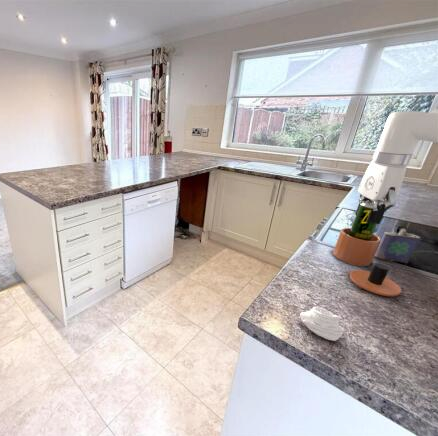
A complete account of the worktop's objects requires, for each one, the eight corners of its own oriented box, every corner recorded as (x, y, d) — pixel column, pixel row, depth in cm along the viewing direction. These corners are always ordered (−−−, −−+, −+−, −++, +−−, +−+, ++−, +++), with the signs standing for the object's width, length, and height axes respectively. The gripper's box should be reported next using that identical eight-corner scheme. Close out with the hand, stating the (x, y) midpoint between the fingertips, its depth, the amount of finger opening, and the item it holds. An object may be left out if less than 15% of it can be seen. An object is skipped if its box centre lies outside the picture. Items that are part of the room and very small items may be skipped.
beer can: (345, 233, 81) (358, 199, 76) (364, 236, 79) (379, 201, 75) (352, 241, 76) (366, 204, 71) (373, 243, 75) (389, 207, 70)
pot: (360, 252, 84) (369, 229, 81) (377, 268, 75) (389, 243, 72) (328, 248, 86) (335, 226, 83) (341, 263, 77) (350, 239, 74)
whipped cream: (295, 328, 54) (298, 312, 52) (302, 310, 58) (306, 294, 56) (340, 348, 49) (346, 330, 47) (344, 326, 53) (350, 309, 51)
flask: (376, 258, 80) (389, 229, 76) (371, 254, 83) (384, 225, 78) (410, 263, 78) (426, 233, 74) (404, 259, 80) (419, 229, 76)
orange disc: (383, 276, 71) (391, 258, 69) (410, 301, 61) (421, 281, 59) (341, 271, 73) (348, 253, 71) (361, 294, 64) (370, 274, 61)
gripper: (358, 154, 77) (339, 208, 84) (395, 164, 61) (368, 229, 68) (386, 155, 75) (364, 210, 82) (432, 166, 60) (400, 232, 67)
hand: (366, 218), depth 75 cm, fingers closed on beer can, 5 cm apart
